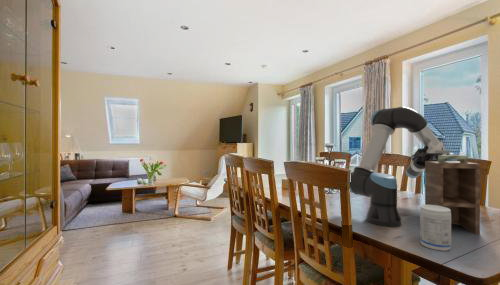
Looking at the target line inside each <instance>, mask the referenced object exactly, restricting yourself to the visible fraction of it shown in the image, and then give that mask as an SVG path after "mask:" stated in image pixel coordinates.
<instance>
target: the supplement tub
mask: <svg viewBox="0 0 500 285" xmlns="http://www.w3.org/2000/svg"><path fill="white" fill-rule="evenodd" d="M419 208H420V209H419V243H421V245H422V246H423V247H425V248H428V249H430V250H435V251H439V252H441V251H442V252H443V251H444V252H446V251H450V250H451V249H452V224H451V210H450V209H449V208H446V207H443V206H438V205H425V204H421V205H420V207H419Z"/></svg>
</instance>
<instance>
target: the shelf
mask: <svg viewBox="0 0 500 285" xmlns="http://www.w3.org/2000/svg"><path fill="white" fill-rule="evenodd" d="M445 159H457V161H445ZM480 168H481V163H477V162H469V156H468V155H465V154H463V155H462V154H459V155H458V154H456V155H438V161H425V170H424V179H425V180H424V205H438V206H443V207H446V208H449V209H450V210H451V225H459V226H461V227H463V228H465V229H466V230H468V231H470V232H472V233H474V234H475V235H481V214H480V213H481V190H480V189H481V186H480V185H481V170H480Z"/></svg>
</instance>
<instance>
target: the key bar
mask: <svg viewBox="0 0 500 285" xmlns="http://www.w3.org/2000/svg"><path fill="white" fill-rule="evenodd" d="M427 153H442V154H450V153H451V150H447V149H446V150H442V145H433V147H432V148H431V149H430V150H429V152H427Z"/></svg>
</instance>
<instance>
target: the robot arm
mask: <svg viewBox="0 0 500 285" xmlns="http://www.w3.org/2000/svg"><path fill="white" fill-rule="evenodd" d="M370 125H371V127H372V130H373V131H372V133H371V137H370V139H369V141H368V143H367V145H366V148H365V151H364V152H363V155H362V157H361V160H360V162H359V164H358V166H355V167H354V169H353V171H351V182H350V191H349V192H350V194H351V193H352V194H354V195H357V196H361V197H366V198H370V199H369V200H370V204H369V208H368V211H367V212H366V221H367V222H369V223H371V224H373V225H378V226H381V227H382V226H384V227H398V226H401V225H402V217H401V215H400V211H399V210H398V181H397V180H398V179H397V178H396V177H395V176H394V175H391V174H387V173H382V172H376V170H377V168H378V165H379V162H380V160H381V158H382V155H383V152H384V150H385V148H386V145H387V143H388V140H389V138H390V136H391V135H392V136H393V134H394V133H395V131H396V129H406V130H407V131H408V132H410V133H411V134H413V135H414V136H415V137H416V139H417V140H418V141H419V142H420V144H421V145H422V146H423V147H422V148H418V149H417V150H416V151H415V152H414V154H412V155H411V156H410V158H411V161H410V163H409V165H408V166H407V167H406V169H405V175H406V176H407V177H408V178H411V179H416V178H418V177H419V176H420V175H421V174H422V173H423V172H425V161H438V155H457V154H456V153H453V152H450V154H442V153H427V152H429V150H430V149H431V148H432V147H433V145H442V150H447V149H446V148H445V146H444V143H443V141H440V140H439V139H438V138H437V137H436V135H435V133H434V132H433V131H432V130H431V129H430V127H429V125H428V121H427V119H426V118H425V117H424V116H423V115H422V114H421V113H419V112H418V111H416V110H415V109H413V108H410V107H407V106H399V107H397V106H396V107H390V108H382V109H378V110H376V111H374V112H373V114H372V115H371V118H370ZM445 161H458V159H445Z"/></svg>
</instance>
